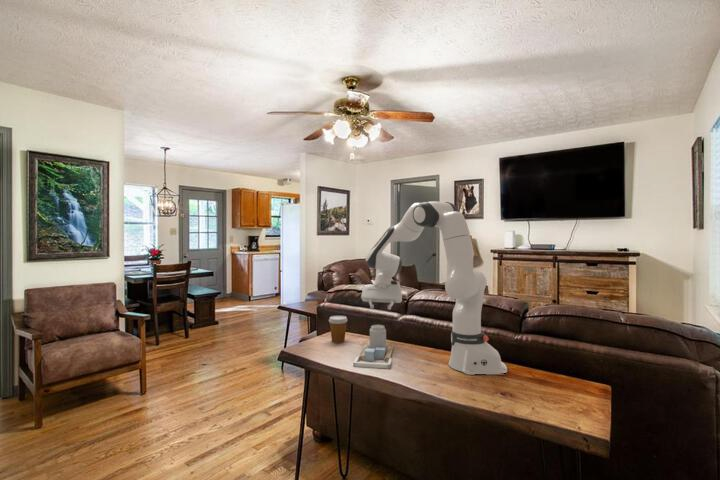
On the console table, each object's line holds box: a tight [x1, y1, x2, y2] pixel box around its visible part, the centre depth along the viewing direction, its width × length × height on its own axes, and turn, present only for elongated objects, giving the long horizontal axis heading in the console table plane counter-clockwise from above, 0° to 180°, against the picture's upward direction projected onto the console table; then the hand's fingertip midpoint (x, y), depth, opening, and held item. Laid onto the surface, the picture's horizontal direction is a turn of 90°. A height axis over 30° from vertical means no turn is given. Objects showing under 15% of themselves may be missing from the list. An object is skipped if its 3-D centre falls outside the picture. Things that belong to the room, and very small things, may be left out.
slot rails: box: [358, 344, 394, 363], centre depth 161 cm, size 13×16×2 cm
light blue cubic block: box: [364, 348, 376, 362], centre depth 156 cm, size 4×4×4 cm
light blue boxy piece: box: [375, 347, 386, 360], centre depth 158 cm, size 4×4×4 cm
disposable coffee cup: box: [328, 315, 348, 344], centre depth 181 cm, size 10×10×12 cm
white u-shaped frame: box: [352, 355, 393, 370], centre depth 149 cm, size 15×8×2 cm, turn 79°
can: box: [369, 324, 387, 352], centre depth 164 cm, size 8×8×12 cm
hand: (380, 308), depth 174 cm, fingers open, 7 cm apart
